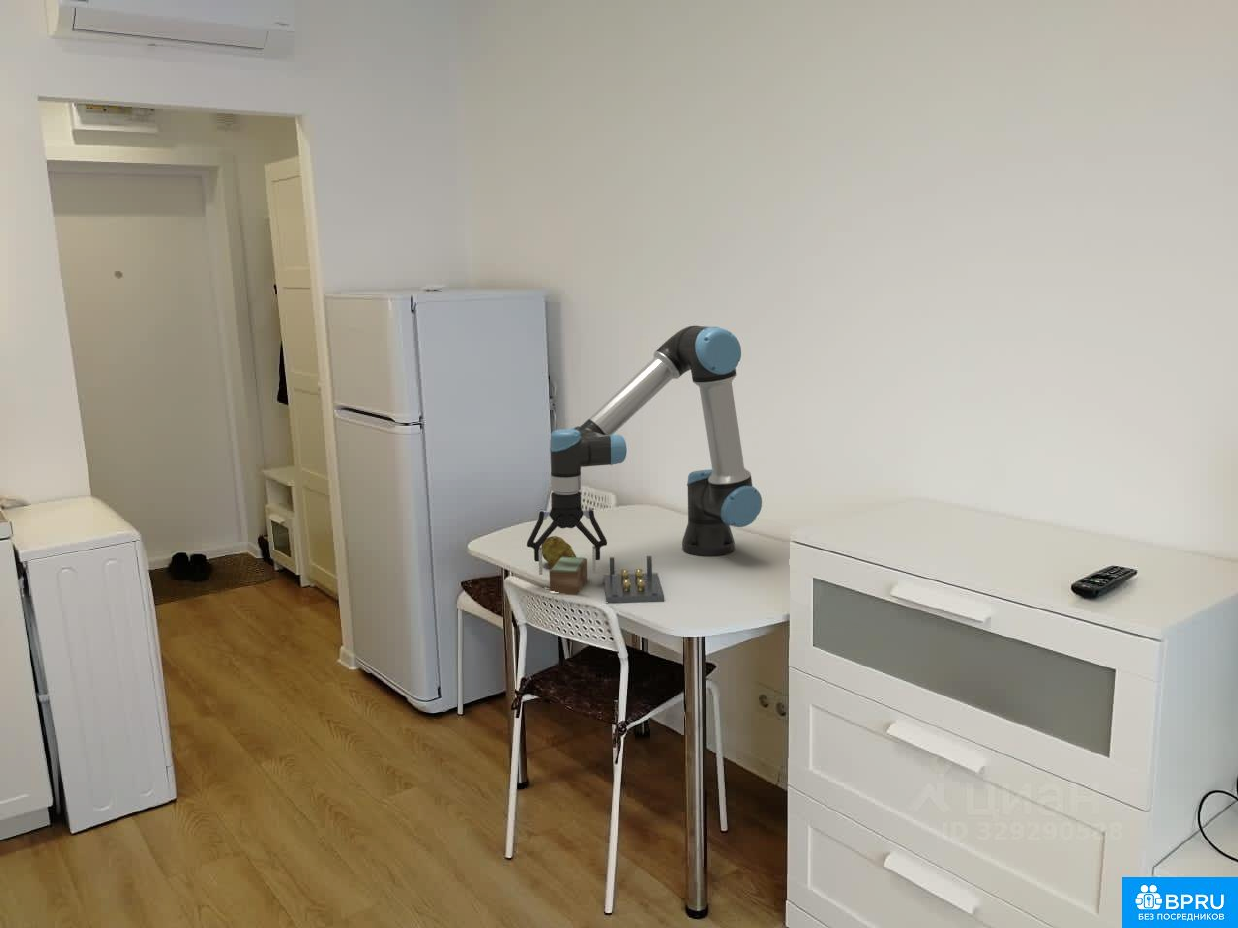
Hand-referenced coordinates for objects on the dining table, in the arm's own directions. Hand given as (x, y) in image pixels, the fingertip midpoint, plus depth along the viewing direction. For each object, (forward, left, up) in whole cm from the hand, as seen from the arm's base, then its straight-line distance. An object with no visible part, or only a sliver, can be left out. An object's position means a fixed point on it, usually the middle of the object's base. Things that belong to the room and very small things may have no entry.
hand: (567, 572), depth 249 cm
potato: (+2, -17, -4) cm, 17 cm away
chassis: (-16, +5, -4) cm, 17 cm away
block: (0, 0, -4) cm, 4 cm away
